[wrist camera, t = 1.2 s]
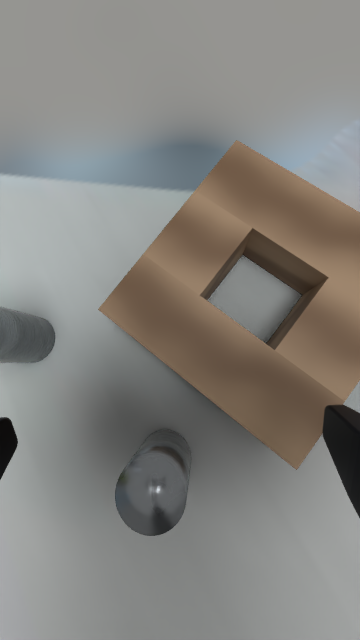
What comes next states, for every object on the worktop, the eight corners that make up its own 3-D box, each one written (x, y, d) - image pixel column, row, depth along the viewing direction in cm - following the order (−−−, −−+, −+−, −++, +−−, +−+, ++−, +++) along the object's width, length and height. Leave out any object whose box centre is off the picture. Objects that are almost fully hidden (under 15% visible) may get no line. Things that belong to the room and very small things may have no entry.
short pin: (169, 496, 20) (155, 552, 14) (130, 460, 20) (100, 499, 15) (201, 453, 20) (200, 490, 14) (161, 418, 21) (145, 441, 15)
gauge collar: (275, 445, 20) (296, 470, 15) (118, 320, 22) (98, 309, 18) (392, 282, 21) (442, 261, 16) (230, 181, 24) (236, 140, 19)
